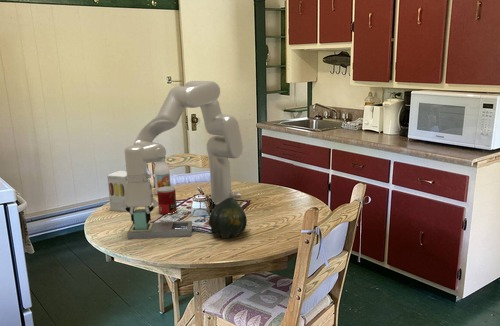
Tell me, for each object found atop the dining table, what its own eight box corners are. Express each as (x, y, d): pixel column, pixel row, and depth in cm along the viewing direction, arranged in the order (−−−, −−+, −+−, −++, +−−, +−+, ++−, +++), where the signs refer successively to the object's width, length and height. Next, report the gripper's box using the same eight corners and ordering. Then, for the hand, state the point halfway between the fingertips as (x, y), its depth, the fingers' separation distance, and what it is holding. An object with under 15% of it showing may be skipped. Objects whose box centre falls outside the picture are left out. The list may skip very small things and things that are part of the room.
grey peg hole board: (192, 226, 177) (192, 220, 176) (190, 236, 167) (190, 229, 166) (133, 229, 176) (132, 222, 175) (127, 239, 166) (127, 232, 165)
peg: (148, 227, 173) (147, 208, 171) (146, 232, 169) (145, 212, 167) (137, 228, 173) (135, 209, 171) (135, 232, 168) (133, 213, 167)
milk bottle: (153, 194, 220) (149, 156, 215) (160, 190, 227) (157, 153, 223) (166, 195, 218) (163, 157, 213) (173, 191, 225) (171, 153, 220)
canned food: (173, 215, 190) (171, 191, 188) (156, 214, 192) (154, 190, 189) (179, 209, 198) (177, 186, 195) (162, 208, 199) (161, 185, 197)
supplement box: (109, 210, 199) (106, 175, 195) (121, 204, 207) (118, 170, 203) (128, 212, 196) (124, 176, 192) (139, 205, 204) (135, 171, 200)
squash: (205, 230, 158) (231, 198, 158) (199, 218, 172) (222, 188, 172) (235, 251, 163) (259, 219, 163) (226, 237, 177) (249, 208, 177)
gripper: (160, 174, 170) (164, 218, 174) (117, 176, 169) (121, 220, 173) (158, 179, 162) (161, 225, 167) (112, 181, 162) (117, 227, 166)
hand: (141, 222), depth 170 cm, fingers closed on peg, 4 cm apart
